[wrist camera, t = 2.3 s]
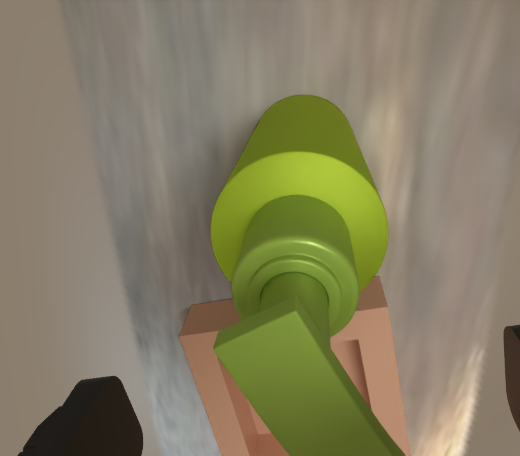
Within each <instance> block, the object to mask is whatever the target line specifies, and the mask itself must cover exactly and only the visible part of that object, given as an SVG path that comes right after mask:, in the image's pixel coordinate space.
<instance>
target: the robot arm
mask: <svg viewBox="0 0 520 456" xmlns="http://www.w3.org/2000/svg"><path fill="white" fill-rule="evenodd" d="M504 356H505V376H506V392H507V398H508V402H509V406H510V410H511V413H512V416H513V418H514V421H515V423H516V425H517V427H518V429H519V431H520V325H515V326H507V327H506V328H505V329H504ZM142 449H143V434H142V429H141V426H140V423H139V421H138V419H137V416H136V414H135V412H134V409H133V407H132V405H131V403H130V400H129V398H128V396H127V393H126V391H125V389H124V387H123V384H122V382H121V380H120V379H119V378H118V377H116V376H108V377H101V378H93V379H85V380H81V381H80V382H78V384H77V385H76V386H75V387H74V389H73V390H72V392H71V393H70V395H69V397H68V398H67V399H66V401H65V403H64V404H63V406H61V407H58V408H57V409H56V410H55V411H54V412H53V413H52V414H51V415H50V416H49V417H47V418H46V419H45V420H44V421H43V422H42V423H41V424H40V425H39V426H38V427H37V428H36V430H35V431H34V433H33V434H32V436H31V437H30V439H29V440H28V441H27V443H26V444H25V446H24V447H23V452H20V453H19V454H18V456H141V454H142Z"/></svg>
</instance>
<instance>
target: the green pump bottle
mask: <svg viewBox="0 0 520 456" xmlns="http://www.w3.org/2000/svg"><path fill="white" fill-rule="evenodd" d="M211 243H212V248H213V252H214V255H215V258H216V260H217V262H218V264H219V266H220V268H221V270H222V272H223V273H224V275H225V276H226V277H227V279H228V280H229V281H230V282H231V283H232V297H233V302H234V305H235V308H236V310H237V312H238V314H239V316H240V317H241V319H242V321H240V322H238V323H236V324H234V325H232V326H230V327H227V328H225V329H223V330H221V331H219V332H218V334H217V337H216V340H215V343H214V347H213V351H214V352H215V354H216V355H217V357H218V358H219V359H220V361H221V362H222V364H223V365H224V367H225V368H226V370H227V371H228V373H229V374H230V375H231V377H232V378H233V380H234V381H235V383H236V384H237V385H238V387H239V388H240V390H241V391H242V393H243V394H244V395H245V397H246V398H247V400H248V401H249V403H250V404H251V405H252V407H253V408H254V410H255V411H256V412H257V414H258V415H259V417H260V418H261V419H262V421H263V422H264V423H265V425H266V426H267V427H268V429H269V430H270V431H271V433H272V434H273V435H274V437H275V438H276V439H277V441H278V442H279V443H280V444H281V446H282V447H283V448H284V449H285V451H286V452H287V453H288V454H289V456H406V455H405V454H404V452H403V451H402V450H401V449H400V448H399V446H398V445H397V444H396V443H395V442H394V440H393V439H392V438H391V437H390V435H389V434H388V433H387V431H386V430H385V429H384V427H383V426H382V425H381V423H380V422H379V420H378V419H377V418H376V416H375V415H374V413H373V412H372V410H371V409H370V407H369V406H368V405H367V403H366V402H365V400H364V399H363V397H362V395H361V394H360V392H359V391H358V389H357V388H356V386H355V385H354V383H353V382H352V380H351V379H350V377H349V375H348V374H347V372H346V371H345V369H344V368H343V366H342V365H341V363H340V362H339V360H338V359H337V357H336V355H335V354H334V352H333V351H332V349H331V343H330V338H331V337H332V336H334V335H336V334H337V333H338V332H340V331H341V330H342V329H343V328H344V327H345V326H346V325H347V324H348V323H349V321H350V320H351V318H352V317H353V315H354V313H355V311H356V308H357V305H358V301H359V292H360V291H361V290H363V289H364V288H365V287H366V286H367V285H368V284H369V282H370V281H371V280H372V279H373V277H374V276H375V275H376V273H377V271H378V270H379V268H380V266H381V264H382V262H383V259H384V256H385V253H386V249H387V244H388V221H387V216H386V212H385V209H384V206H383V203H382V201H381V198H380V196H379V194H378V191H377V189H376V186H375V184H374V182H373V179H372V177H371V174H370V172H369V170H368V167H367V165H366V162H365V160H364V158H363V155H362V153H361V150H360V148H359V146H358V143H357V141H356V138H355V136H354V134H353V131H352V129H351V126H350V124H349V122H348V120H347V118H346V117H345V115H344V114H343V113H342V111H341V110H340V109H339V108H338V107H336V106H335V105H334V104H333V103H331V102H329V101H328V100H326V99H323V98H321V97H317V96H313V95H295V96H291V97H287V98H285V99H283V100H280V101H279V102H277V103H275V104H274V105H273V106H271V107H270V108H269V109H268V110H267V111H266V112H265V113H264V115H263V116H262V118H261V119H260V121H259V123H258V125H257V126H256V128H255V130H254V132H253V134H252V136H251V138H250V139H249V141H248V143H247V145H246V147H245V149H244V151H243V152H242V154H241V156H240V158H239V160H238V162H237V164H236V166H235V167H234V169H233V171H232V173H231V175H230V177H229V179H228V180H227V182H226V184H225V186H224V188H223V190H222V192H221V194H220V195H219V197H218V199H217V202H216V204H215V207H214V210H213V214H212V219H211Z"/></svg>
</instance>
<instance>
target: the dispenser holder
mask: <svg viewBox="0 0 520 456" xmlns="http://www.w3.org/2000/svg"><path fill="white" fill-rule="evenodd" d="M240 321H242V319H241V317H240V316H239V314H238V312H237V310H236V308H235V305H234V302H233V299H228V300H222V301H215V302H209V303H202V304H196V305H192V306H191V308H190V311H189V313H188V316H187V318H186V320H185V323H184V325H183V327H182V330H181V332H180V334H179V339H180V342H181V344H182V347H183V350H184V353H185V355H186V358H187V361H188V364H189V366H190V369H191V372H192V375H193V377H194V380H195V383H196V385H197V388H198V391H199V394H200V396H201V399H202V402H203V405H204V407H205V410H206V413H207V416H208V418H209V421H210V424H211V427H212V429H213V432H214V435H215V438H216V440H217V443H218V446H219V449H220V451H221V454H222V456H289V454H288V453H287V452H286V451H285V449H284V448H283V447H282V446H281V444H280V443H279V442H278V441H277V439H276V438H275V437H274V435H273V434H272V433H271V431H270V430H269V429H268V427H267V426H266V425H265V423H264V422H263V421H262V419H261V418H260V417H259V415H258V414H257V412H256V411H255V410H254V408H253V407H252V405H251V404H250V403H249V401H248V400H247V398H246V397H245V395H244V394H243V393H242V391H241V390H240V388H239V387H238V385H237V384H236V383H235V381H234V380H233V378H232V377H231V375H230V374H229V373H228V371H227V370H226V368H225V367H224V365H223V364H222V362H221V361H220V359H219V358H218V357H217V355H216V354H215V352H214V351H213V347H214V343H215V340H216V337H217V334H218V332H219V331H221V330H223V329H225V328H227V327H230V326H232V325H234V324H236V323H238V322H240ZM330 343H331V349H332V351H333V352H334V354H335V355H336V357H337V359H338V360H339V362H340V363H341V365H342V366H343V368H344V369H345V371H346V372H347V374H348V375H349V377H350V379H351V380H352V382H353V383H354V385H355V386H356V388H357V389H358V391H359V392H360V394H361V395H362V397H363V399H364V400H365V402H366V403H367V405H368V406H369V407H370V409H371V410H372V412H373V413H374V415H375V416H376V418H377V419H378V420H379V422H380V423H381V425H382V426H383V427H384V429H385V430H386V431H387V433H388V434H389V435H390V437H391V438H392V439H393V440H394V442H395V443H396V444H397V445H398V446H399V448H400V449H401V450H402V451H403V452H404V454H405V455H406V456H411V454H410V448H409V441H408V435H407V428H406V422H405V415H404V409H403V402H402V396H401V389H400V383H399V376H398V370H397V363H396V357H395V350H394V344H393V337H392V331H391V325H390V318H389V312H388V306H387V302H386V299H385V295H384V292H383V288H382V284H381V281H380V277H379V276H378V277H373V279H372V280H371V281H370V282H369V284H368V285H367V286H366V287H365V288H364V289H363V290H361V291H360V292H359V301H358V305H357V308H356V311H355V313H354V315H353V317H352V318H351V320H350V321H349V323H348V324H347V325H346V326H345V327H344V328H343V329H342V330H341V331H340V332H338V333H337V334H336V335H334V336H332V337H331V338H330Z"/></svg>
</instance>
